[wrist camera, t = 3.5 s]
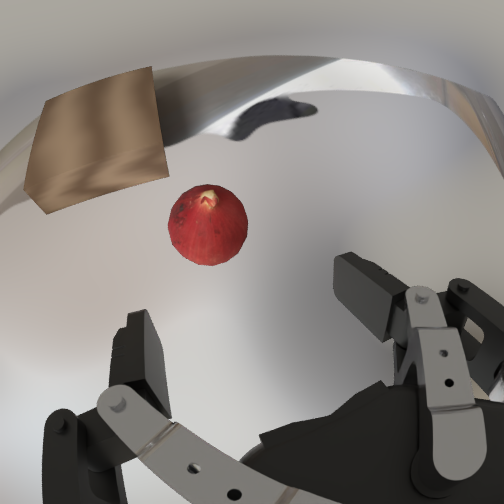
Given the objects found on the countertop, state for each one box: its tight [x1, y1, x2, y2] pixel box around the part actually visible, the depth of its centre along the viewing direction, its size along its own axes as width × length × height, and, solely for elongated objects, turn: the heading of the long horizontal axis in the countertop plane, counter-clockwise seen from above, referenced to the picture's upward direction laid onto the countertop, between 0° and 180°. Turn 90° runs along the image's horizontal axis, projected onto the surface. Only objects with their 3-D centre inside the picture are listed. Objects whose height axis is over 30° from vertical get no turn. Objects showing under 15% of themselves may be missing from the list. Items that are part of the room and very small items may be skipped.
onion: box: [168, 184, 248, 266], centre depth 20 cm, size 6×6×8 cm
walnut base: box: [23, 66, 169, 214], centre depth 24 cm, size 14×14×5 cm
